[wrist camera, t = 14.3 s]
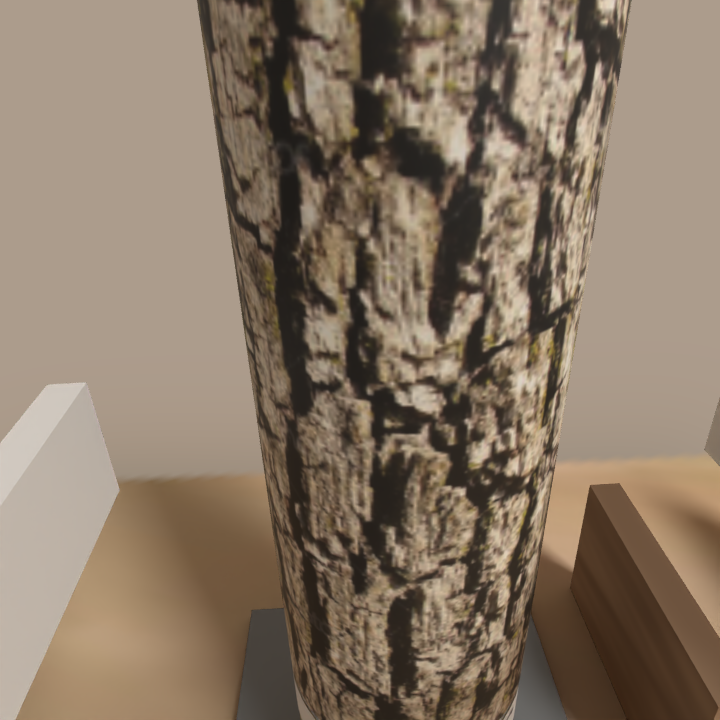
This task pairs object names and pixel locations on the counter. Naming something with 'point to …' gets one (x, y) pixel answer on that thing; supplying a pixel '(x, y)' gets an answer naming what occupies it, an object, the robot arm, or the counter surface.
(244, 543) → the counter surface
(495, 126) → the paper tube
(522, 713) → the mat
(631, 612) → the board
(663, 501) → the counter surface
